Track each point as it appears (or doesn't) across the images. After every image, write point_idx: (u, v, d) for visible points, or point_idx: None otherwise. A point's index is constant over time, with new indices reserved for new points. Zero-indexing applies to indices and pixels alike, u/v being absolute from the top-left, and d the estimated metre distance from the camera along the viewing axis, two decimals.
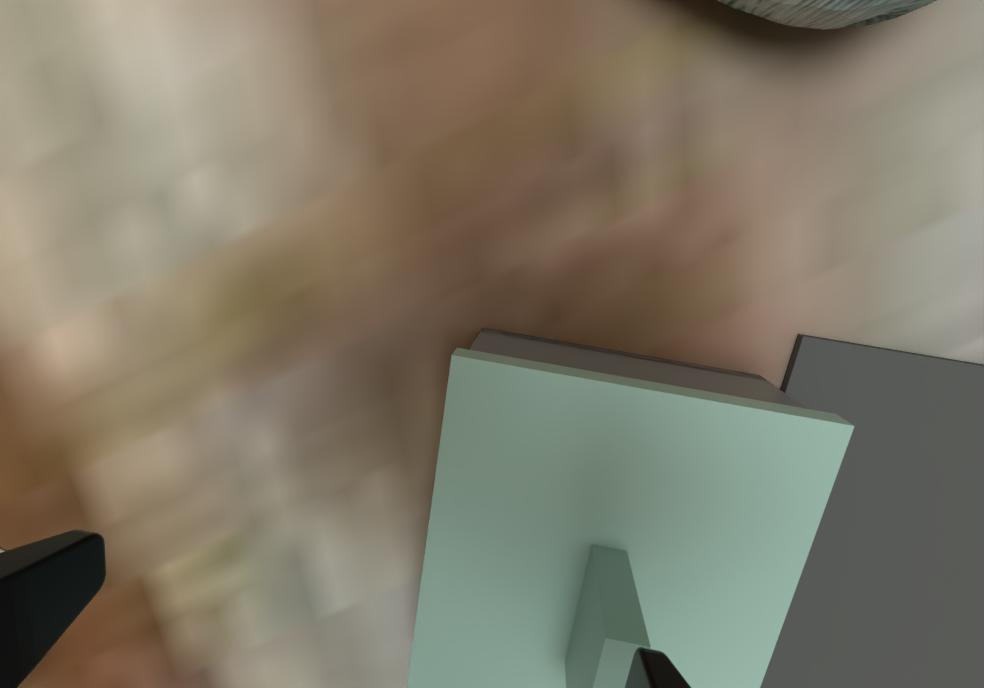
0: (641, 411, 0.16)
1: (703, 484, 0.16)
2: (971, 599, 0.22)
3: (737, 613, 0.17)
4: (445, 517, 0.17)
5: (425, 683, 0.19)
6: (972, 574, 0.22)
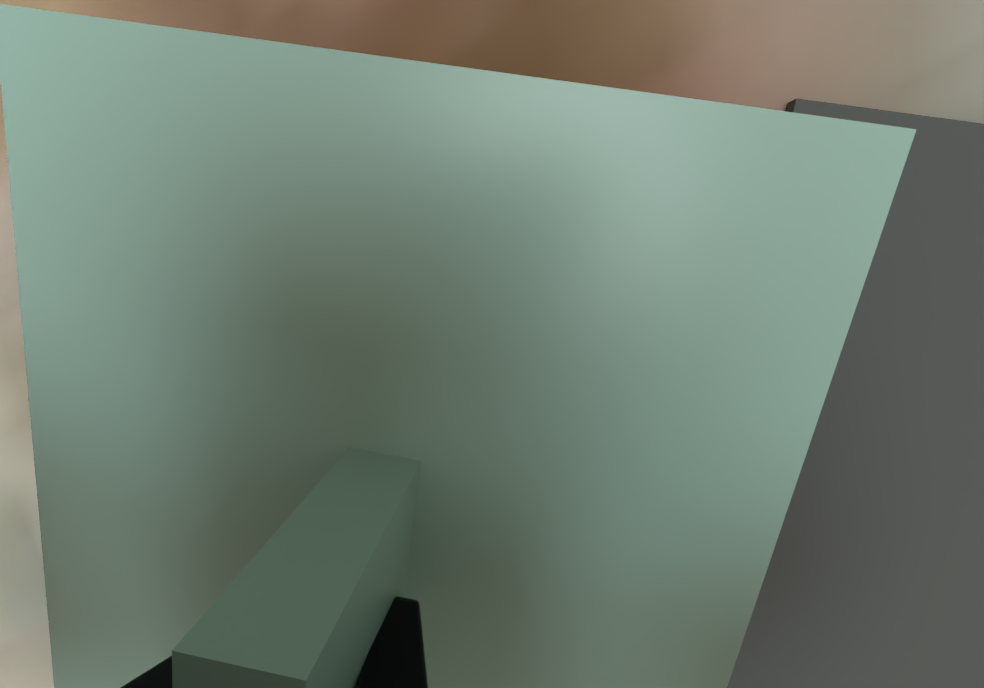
0: (418, 121, 0.07)
1: (570, 299, 0.07)
2: None
3: (656, 592, 0.08)
4: (58, 396, 0.08)
5: None
6: None
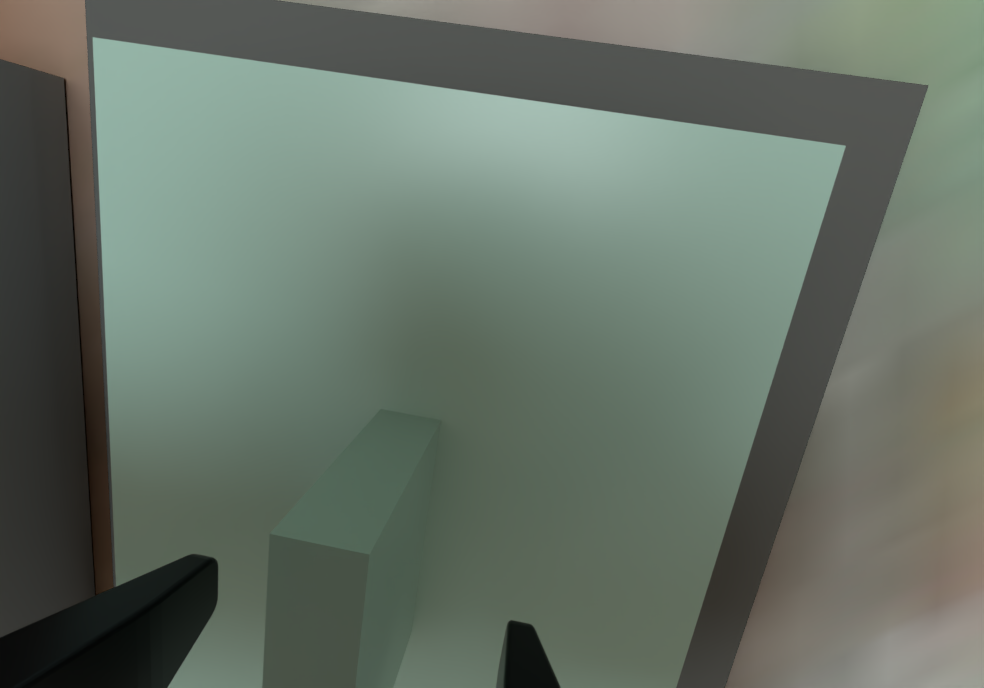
0: (442, 136, 0.08)
1: (566, 284, 0.09)
2: None
3: (638, 532, 0.10)
4: (132, 366, 0.10)
5: None
6: None
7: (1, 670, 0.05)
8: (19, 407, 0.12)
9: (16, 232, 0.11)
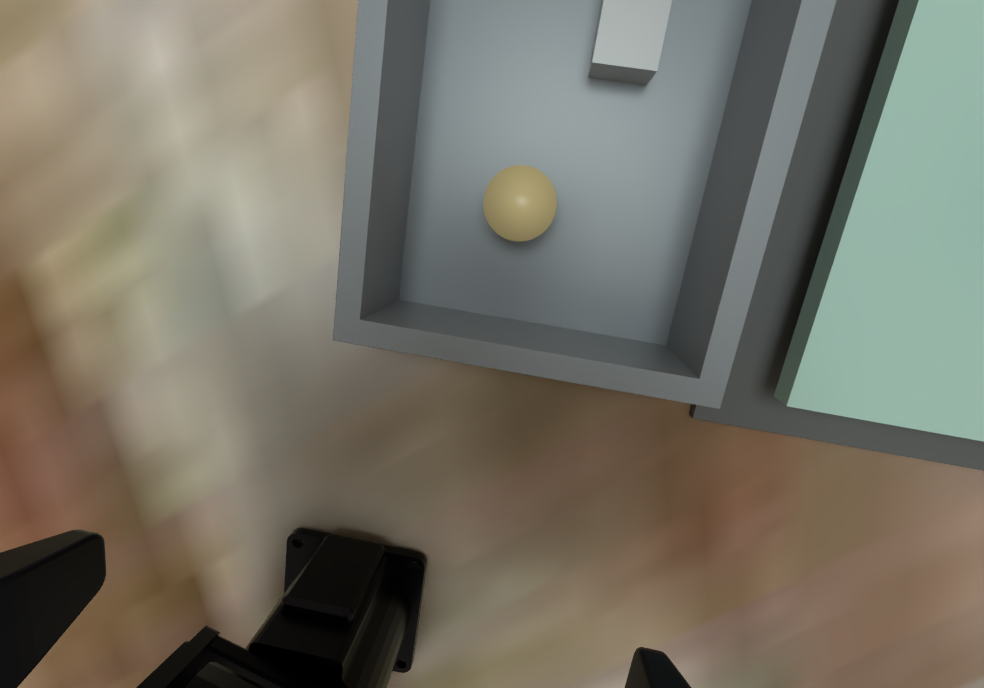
0: None
1: None
2: None
3: None
4: (918, 65, 0.14)
5: (840, 314, 0.16)
6: None
7: None
8: None
9: None
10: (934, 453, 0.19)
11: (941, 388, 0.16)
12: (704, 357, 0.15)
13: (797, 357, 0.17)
